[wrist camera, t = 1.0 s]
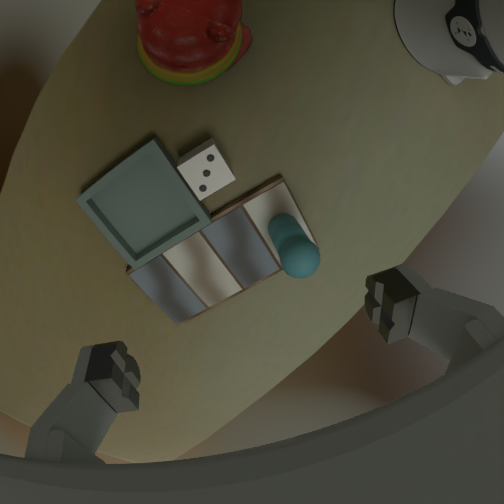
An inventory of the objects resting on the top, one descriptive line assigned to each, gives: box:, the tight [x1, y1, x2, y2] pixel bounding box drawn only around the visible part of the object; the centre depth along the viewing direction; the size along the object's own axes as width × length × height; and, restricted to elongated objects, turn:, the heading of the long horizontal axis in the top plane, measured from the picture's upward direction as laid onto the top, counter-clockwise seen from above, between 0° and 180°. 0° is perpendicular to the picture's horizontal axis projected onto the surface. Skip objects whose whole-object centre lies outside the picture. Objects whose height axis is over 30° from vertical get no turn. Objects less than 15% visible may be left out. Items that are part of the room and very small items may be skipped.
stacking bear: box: [135, 0, 252, 86], centre depth 20 cm, size 11×10×18 cm
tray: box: [76, 136, 212, 270], centre depth 35 cm, size 12×12×2 cm
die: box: [177, 138, 236, 201], centre depth 33 cm, size 4×4×4 cm
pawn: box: [268, 213, 320, 278], centre depth 35 cm, size 4×4×10 cm
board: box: [126, 175, 319, 326], centre depth 41 cm, size 24×12×1 cm, turn 118°
